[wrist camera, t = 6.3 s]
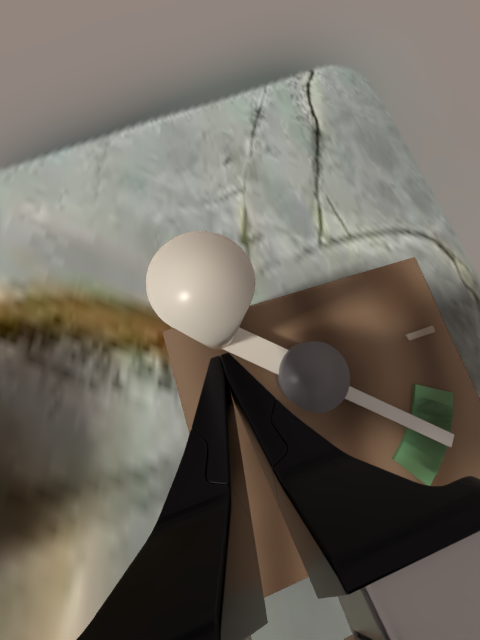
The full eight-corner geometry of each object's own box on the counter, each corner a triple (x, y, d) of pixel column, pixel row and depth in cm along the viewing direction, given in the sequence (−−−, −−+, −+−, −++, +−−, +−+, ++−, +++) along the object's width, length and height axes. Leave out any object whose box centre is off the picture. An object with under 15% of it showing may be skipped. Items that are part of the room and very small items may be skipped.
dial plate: (235, 592, 14) (236, 614, 13) (166, 333, 17) (161, 331, 15) (499, 472, 17) (520, 481, 15) (404, 262, 19) (416, 256, 18)
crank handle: (188, 353, 15) (100, 348, 4) (215, 299, 16) (197, 181, 5) (435, 468, 15) (973, 754, 4) (450, 408, 16) (935, 519, 5)
